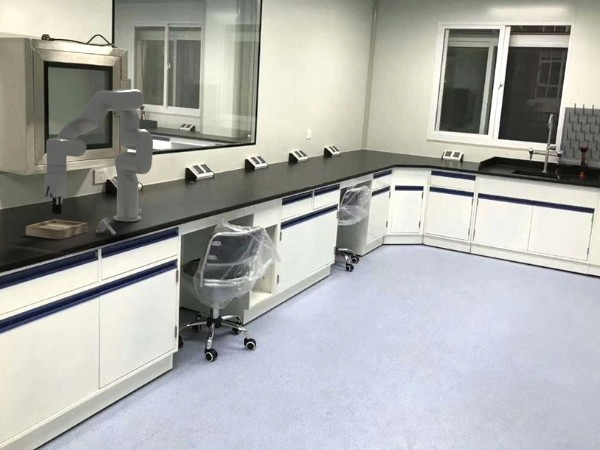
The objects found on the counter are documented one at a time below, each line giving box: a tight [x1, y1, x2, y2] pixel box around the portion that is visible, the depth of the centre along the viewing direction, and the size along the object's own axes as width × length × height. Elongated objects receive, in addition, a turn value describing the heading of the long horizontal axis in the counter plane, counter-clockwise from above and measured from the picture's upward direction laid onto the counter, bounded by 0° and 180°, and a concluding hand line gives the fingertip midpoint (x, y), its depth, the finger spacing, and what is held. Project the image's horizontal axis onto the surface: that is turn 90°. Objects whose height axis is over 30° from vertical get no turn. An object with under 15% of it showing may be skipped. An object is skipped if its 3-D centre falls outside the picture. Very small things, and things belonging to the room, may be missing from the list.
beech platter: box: [25, 219, 88, 240], centre depth 247 cm, size 18×16×4 cm
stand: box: [96, 217, 117, 236], centre depth 251 cm, size 8×5×8 cm
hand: (56, 213), depth 246 cm, fingers closed
